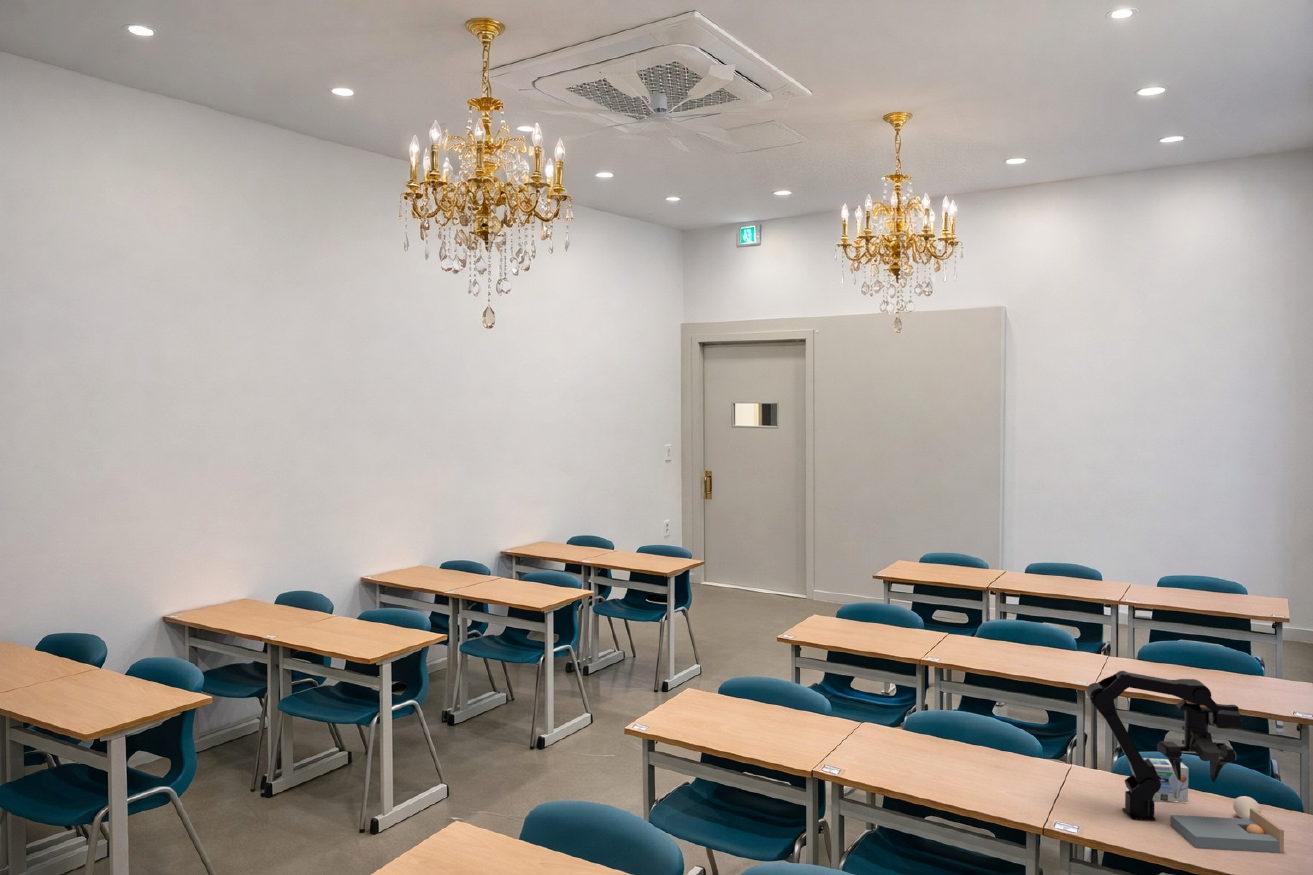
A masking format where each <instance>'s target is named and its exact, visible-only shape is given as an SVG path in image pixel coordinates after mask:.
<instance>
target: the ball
mask: <svg viewBox="0 0 1313 875" xmlns="http://www.w3.org/2000/svg"><path fill="white" fill-rule="evenodd" d="M1246 831H1247V832H1248V833H1250V834H1264V831H1263V829H1262V828H1261V827H1260V826H1258V825H1255V824H1251V825H1249V826H1248V827H1247V829H1246Z"/></svg>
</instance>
